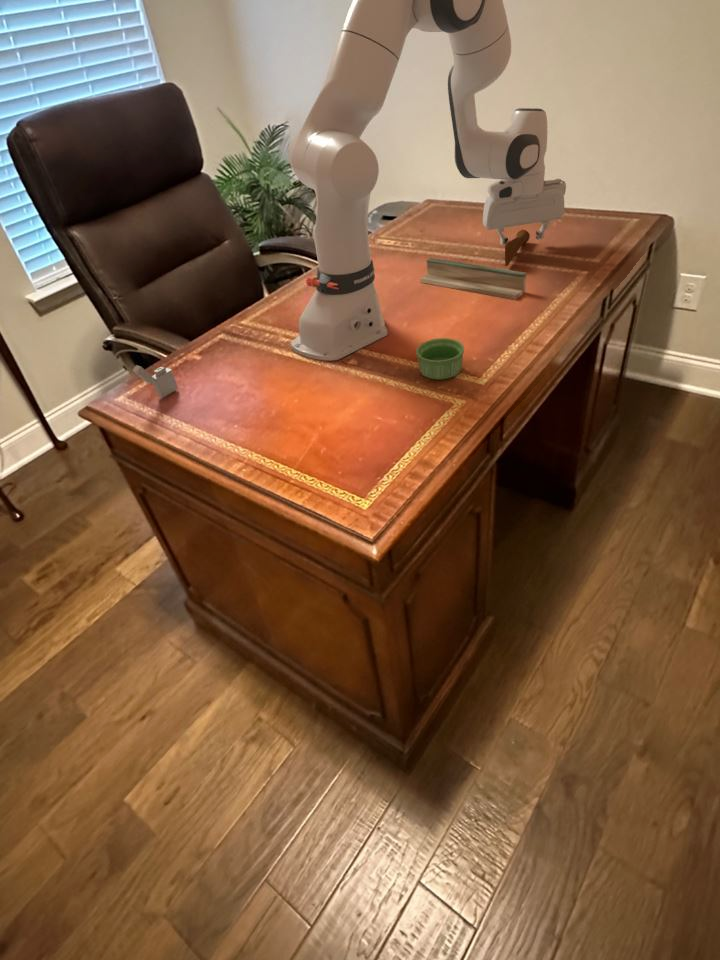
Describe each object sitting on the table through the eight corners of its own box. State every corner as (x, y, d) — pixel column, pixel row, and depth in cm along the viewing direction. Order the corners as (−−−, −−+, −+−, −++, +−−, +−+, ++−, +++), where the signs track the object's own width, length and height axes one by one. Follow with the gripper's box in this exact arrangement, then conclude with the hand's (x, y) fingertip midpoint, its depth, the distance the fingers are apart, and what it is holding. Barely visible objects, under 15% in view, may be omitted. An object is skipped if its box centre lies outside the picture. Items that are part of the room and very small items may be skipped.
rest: (515, 299, 132) (516, 280, 129) (420, 282, 146) (419, 264, 143) (525, 292, 134) (526, 272, 131) (431, 275, 148) (430, 257, 145)
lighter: (173, 386, 120) (160, 351, 115) (178, 388, 119) (165, 352, 114) (145, 403, 116) (130, 367, 111) (151, 405, 115) (136, 369, 110)
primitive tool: (504, 267, 145) (518, 266, 143) (504, 244, 141) (519, 243, 140) (516, 243, 158) (529, 242, 157) (516, 222, 155) (530, 221, 154)
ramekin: (461, 356, 116) (461, 335, 113) (466, 379, 109) (466, 358, 106) (416, 360, 116) (415, 340, 114) (418, 383, 110) (417, 363, 107)
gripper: (561, 174, 146) (556, 231, 155) (481, 187, 146) (480, 243, 155) (571, 180, 141) (565, 239, 150) (488, 193, 141) (487, 251, 150)
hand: (521, 241), depth 152 cm, fingers open, 8 cm apart
